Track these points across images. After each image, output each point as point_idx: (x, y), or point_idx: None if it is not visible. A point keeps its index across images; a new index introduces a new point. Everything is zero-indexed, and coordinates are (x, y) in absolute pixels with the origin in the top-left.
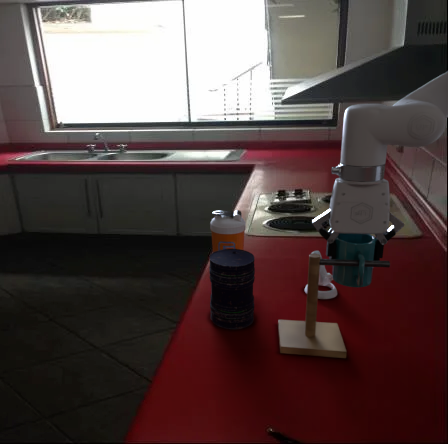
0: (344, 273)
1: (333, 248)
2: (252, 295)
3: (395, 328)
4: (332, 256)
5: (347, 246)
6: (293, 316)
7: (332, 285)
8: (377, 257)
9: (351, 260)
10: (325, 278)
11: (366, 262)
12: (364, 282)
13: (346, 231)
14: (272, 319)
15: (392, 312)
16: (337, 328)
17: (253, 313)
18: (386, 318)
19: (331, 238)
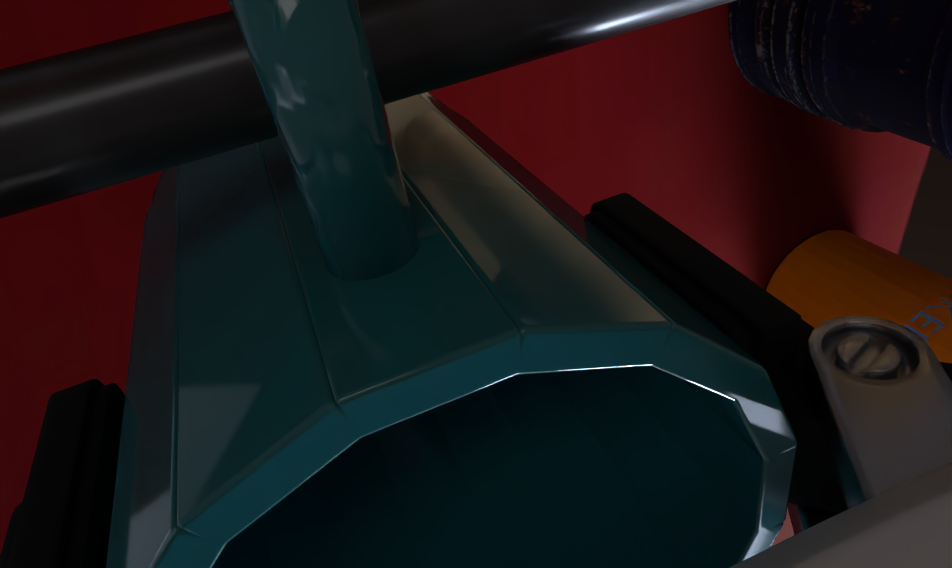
0: (437, 114)
1: (731, 282)
2: (859, 17)
3: (11, 231)
4: (659, 221)
5: (620, 280)
6: (551, 124)
7: None
8: (73, 443)
9: (457, 20)
10: None
11: (174, 55)
12: None
13: (931, 544)
14: (645, 50)
15: (74, 385)
16: None
17: (761, 4)
18: (90, 313)
19: (883, 388)
